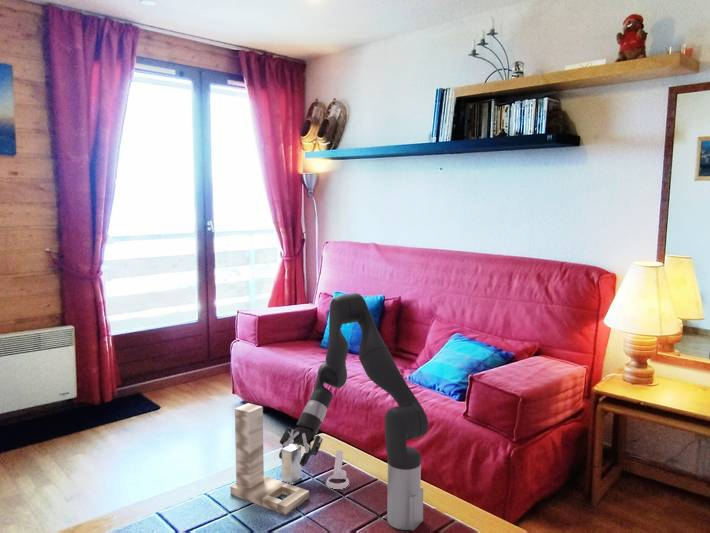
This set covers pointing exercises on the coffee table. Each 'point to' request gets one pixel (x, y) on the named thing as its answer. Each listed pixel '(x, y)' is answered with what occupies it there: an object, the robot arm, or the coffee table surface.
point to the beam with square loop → (259, 466)
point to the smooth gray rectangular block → (291, 463)
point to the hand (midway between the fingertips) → (291, 462)
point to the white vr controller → (338, 473)
